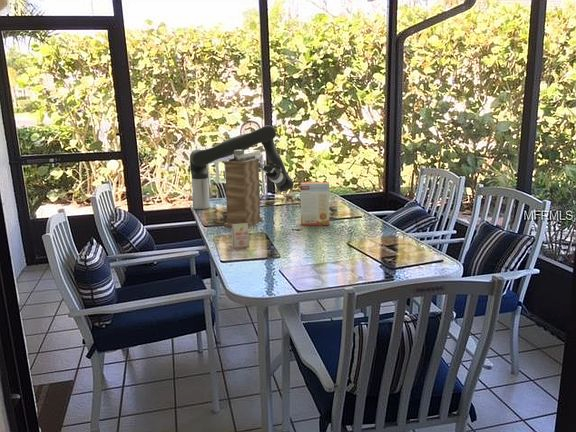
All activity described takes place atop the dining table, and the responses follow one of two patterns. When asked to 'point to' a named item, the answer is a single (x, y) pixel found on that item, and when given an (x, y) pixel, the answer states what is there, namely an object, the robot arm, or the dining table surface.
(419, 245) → the dining table surface
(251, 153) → the steel bar
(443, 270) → the dining table surface
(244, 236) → the small beige carton
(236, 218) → the walnut stand
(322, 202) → the cracker box
